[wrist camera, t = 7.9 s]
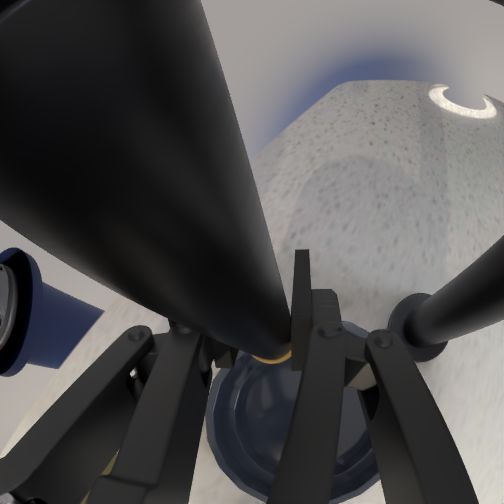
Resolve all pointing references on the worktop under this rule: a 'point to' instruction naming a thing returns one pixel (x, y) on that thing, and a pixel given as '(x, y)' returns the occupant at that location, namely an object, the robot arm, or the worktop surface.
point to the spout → (138, 163)
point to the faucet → (453, 307)
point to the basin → (279, 427)
